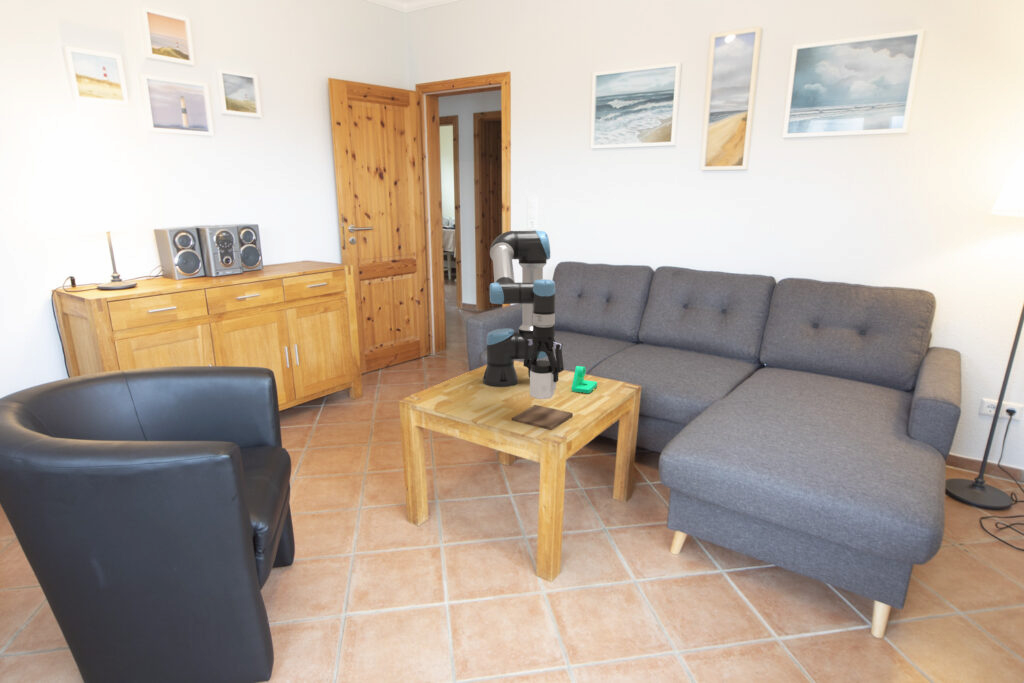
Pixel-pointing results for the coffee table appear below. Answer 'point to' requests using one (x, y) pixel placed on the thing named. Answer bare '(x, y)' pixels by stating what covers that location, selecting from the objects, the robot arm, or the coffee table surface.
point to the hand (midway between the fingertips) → (543, 388)
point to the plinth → (543, 417)
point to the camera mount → (582, 381)
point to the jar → (541, 380)
